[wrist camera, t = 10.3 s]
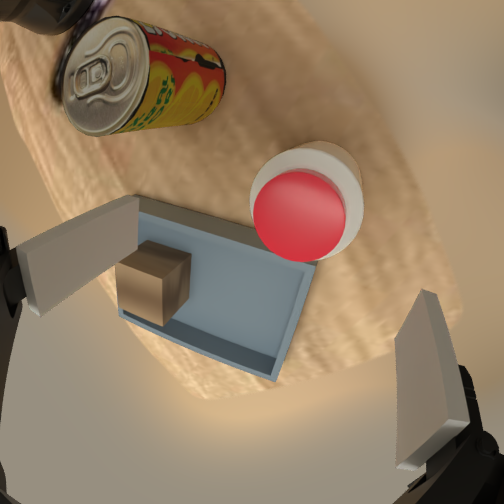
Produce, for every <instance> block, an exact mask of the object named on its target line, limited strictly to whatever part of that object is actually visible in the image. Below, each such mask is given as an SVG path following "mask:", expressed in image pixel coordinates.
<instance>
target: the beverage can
mask: <svg viewBox="0 0 504 504" xmlns="http://www.w3.org/2000/svg"><path fill="white" fill-rule="evenodd" d="M225 85H226V71H225V67H224V65H223V62H222V59H221V58H220V57H219V55H218V54H217V52H216V51H215V50H213V49H212V48H211V47H209V46H208V45H206V44H203V43H201V42H198V41H196V40H193V39H190V38H188V37H185V36H182V35H179V34H177V33H174V32H171V31H168V30H165V29H162V28H159V27H156V26H153V25H150V24H146V23H143V22H140V21H136V20H133V19H129V18H125V17H120V16H111V17H105V18H103V19H101V20H99V21H97V22H94V23H93V24H92V25H90V26H89V27H88V28H87V29H86V30H84V31H83V32H82V33H81V35H80V36H79V37H78V39H77V40H76V41H75V42H74V44H73V46H72V48H71V50H70V52H69V53H68V55H67V58H66V61H65V64H64V68H63V72H62V79H61V98H62V102H63V106H64V110H65V112H66V115H67V117H68V119H69V121H70V122H71V123H72V124H73V126H74V127H75V128H76V129H77V130H78V131H80V132H82V133H84V134H85V135H88V136H94V137H100V136H105V135H111V134H117V133H124V132H130V131H137V130H145V129H153V128H161V127H170V126H180V125H189V124H194V123H196V122H199V121H201V120H203V119H204V118H206V117H207V116H208V115H210V114H211V113H212V112H213V110H214V109H215V108H216V107H217V106H218V104H219V102H220V100H221V98H222V96H223V94H224V90H225Z"/></svg>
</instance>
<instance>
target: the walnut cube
mask: <svg viewBox="0 0 504 504" xmlns="http://www.w3.org/2000/svg"><path fill="white" fill-rule="evenodd" d="M191 257H192V254H190V253H187V252H184V251H181V250H178V249H175V248H171V247H168V246H165V245H162V244H159V243H156V242H153V241H150V240H146V241H144V242H143V243H141V244H140V245H138V249H137V250H136V251H134V252H133V253H131V254H130V255H128V256H127V257H125V258H124V259H122V260H121V261H119V262H118V263H116V264H115V275H116V286H117V296H118V305H119V308H121V309H124V310H126V311H128V312H130V313H132V314H135V315H137V316H139V317H141V318H143V319H146V320H148V321H150V322H153V323H155V324H157V325H160V326H162V327H163V326H164V325H165V324H166V323H167V322H168V321H169V320H170V319H171V317H172V316H173V315H174V314H175V313H176V312H177V311H178V310H179V309H180V308H181V307H182V306H183V304H184V303H185V302H186V301H187V300H188V299H189V291H190V273H191Z"/></svg>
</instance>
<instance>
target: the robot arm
mask: <svg viewBox="0 0 504 504" xmlns="http://www.w3.org/2000/svg"><path fill="white" fill-rule="evenodd" d="M92 1H93V0H0V21H9V22H14V23H16V24H18V25H20V26H22V27H24V28H26V29H29V30H31V31H33V32H35V33H37V34H41V35H57V34H60V33H62V32H64V31H66V30H67V29H69V28H70V27H71V26H72V25H74V24H75V23H76V22H77V21H78V20H79V18H80V17H81V16H82V15H83V14H84V13H85V11H86V10H87V8H88V7H89V6H90V4H91V3H92ZM138 217H139V198H137V197H133V196H130V195H126V196H123V197H121V198H118V199H116V200H114V201H111V202H109V203H106V204H104V205H102V206H100V207H97V208H95V209H93V210H90V211H88V212H86V213H84V214H81V215H79V216H77V217H75V218H73V219H71V220H68V221H66V222H64V223H62V224H60V225H58V226H56V227H54V228H52V229H50V230H47V231H46V232H43V233H42V234H39V235H37V236H35V237H33V238H31V239H30V240H28V241H26V242H24V243H22V244H20V245H18V246H16V247H15V248H13V249H11V250H10V249H9V243H8V238H7V232H6V231H7V230H6V228H5V227H2V226H0V420H1V411H2V402H3V396H4V389H5V382H6V377H7V371H8V366H9V361H10V355H11V351H12V347H13V342H14V338H15V334H16V330H17V326H18V322H19V318H20V315H21V312H22V301H21V300H22V299H24V298H25V297H27V301H28V305H29V309H30V310H32V311H33V312H34V313H35V314H37V315H38V316H39V317H42V316H43V315H44V314H46V313H47V312H48V311H50V310H51V309H52V308H54V307H55V306H57V305H58V304H59V303H60V302H62V301H63V300H65V299H66V298H68V297H69V296H70V295H72V294H73V293H74V292H76V291H77V290H79V289H80V288H81V287H83V286H84V285H86V284H87V283H89V282H90V281H91V280H93V279H94V278H96V277H97V276H99V275H100V274H102V273H103V272H105V271H106V270H107V269H109V268H110V267H112V266H113V265H115V264H116V263H118V262H119V261H121V260H122V259H124V258H125V257H127V256H128V255H130V254H131V253H133V252H134V251H136V250H137V249H138ZM395 353H396V374H397V443H396V462H395V468H399V469H406V470H413V471H415V470H417V469H418V468H419V467H421V466H422V465H423V464H424V463H426V473H424V474H423V475H422V476H420V477H419V478H417V479H416V480H415V481H413V482H412V483H411V484H409V485H408V487H409V489H408V490H407V491H406V492H405V493H404V494H403V495H402V496H400V497H399V498H398V499H397V500H396V501H395V502H394V503H393V504H504V455H502V454H500V453H499V447H498V444H497V442H496V440H495V439H494V437H493V436H492V435H491V434H489V433H488V432H486V431H483V427H482V422H481V417H480V412H479V407H478V403H477V400H476V394H475V391H474V386H473V382H472V378H471V376H470V374H469V373H468V371H467V369H466V368H465V366H462V365H458V363H457V359H456V355H455V352H454V348H453V344H452V341H451V338H450V334H449V331H448V327H447V324H446V321H445V318H444V315H443V312H442V309H441V306H440V303H439V300H438V297H437V294H435V293H432V292H429V291H426V290H423V289H421V291H420V293H419V295H418V297H417V299H416V301H415V303H414V305H413V306H412V308H411V310H410V312H409V314H408V316H407V318H406V319H405V321H404V323H403V325H402V327H401V329H400V330H399V332H398V334H397V336H396V337H395ZM0 504H21V503H19V502H18V501H16V500H15V499H13V498H12V497H11V496H9V495H8V494H7V492H6V478H5V473H4V470H3V467H2V465H1V462H0Z"/></svg>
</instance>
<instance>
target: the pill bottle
mask: <svg viewBox="0 0 504 504" xmlns="http://www.w3.org/2000/svg"><path fill="white" fill-rule="evenodd" d="M249 203H250V212H251V217H252V220H253V223H254V225H255V229H256V231H257V234H258V236H259V238H260V239H261V240H262V242H263V243H264V245H265V246H266V247H267V248H268V249H269V250H270V251H272V252H273V253H275V254H276V255H278V256H280V257H282V258H284V259H287V260H290V261H295V262H309V261H315V260H322V259H326V258H329V257H332V256H334V255H335V254H337V253H339V252H341V251H342V250H343V249H344V248H346V247H347V246H348V245H349V244H350V243H351V242H352V240H353V239H354V238H355V237H356V235H357V233H358V231H359V229H360V227H361V224H362V220H363V216H364V195H363V184H362V177H361V172H360V170H359V167H358V165H357V163H356V162H355V160H354V158H353V157H352V156H351V155H350V154H349V153H348V152H347V151H346V150H344V149H343V148H341V147H340V146H338V145H336V144H333V143H330V142H326V141H311V142H306V143H304V144H301V145H299V146H296V147H294V148H291V149H289V150H286V151H284V152H282V153H279V154H277V155H276V156H274V157H273V158H271V159H270V160H268V161H267V162H266V163H265V164H264V166H263V167H262V168H261V169H260V170H259V172H258V173H257V175H256V177H255V178H254V181H253V184H252V187H251V191H250V198H249Z"/></svg>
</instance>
